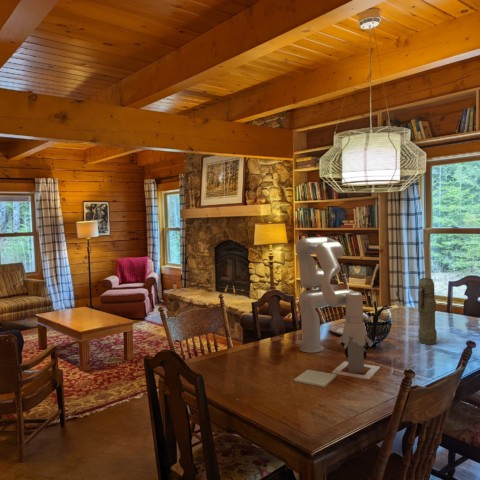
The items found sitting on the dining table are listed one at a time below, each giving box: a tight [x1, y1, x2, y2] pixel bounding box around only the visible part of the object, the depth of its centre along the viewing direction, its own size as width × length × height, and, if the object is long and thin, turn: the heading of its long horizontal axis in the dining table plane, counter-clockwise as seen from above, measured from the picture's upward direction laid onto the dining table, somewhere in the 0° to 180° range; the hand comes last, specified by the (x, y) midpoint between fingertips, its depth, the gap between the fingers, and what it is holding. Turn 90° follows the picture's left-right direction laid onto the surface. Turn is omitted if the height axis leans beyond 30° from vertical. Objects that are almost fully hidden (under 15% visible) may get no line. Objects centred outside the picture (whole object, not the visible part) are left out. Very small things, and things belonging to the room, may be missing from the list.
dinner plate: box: [328, 323, 344, 336], centre depth 262 cm, size 28×27×3 cm
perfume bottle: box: [347, 337, 365, 374], centre depth 198 cm, size 7×7×18 cm
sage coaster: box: [293, 369, 338, 388], centre depth 190 cm, size 14×14×1 cm
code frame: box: [331, 361, 381, 380], centre depth 198 cm, size 17×17×1 cm
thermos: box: [417, 277, 438, 346], centre depth 234 cm, size 9×12×35 cm
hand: (355, 357), depth 198 cm, fingers closed on perfume bottle, 6 cm apart
